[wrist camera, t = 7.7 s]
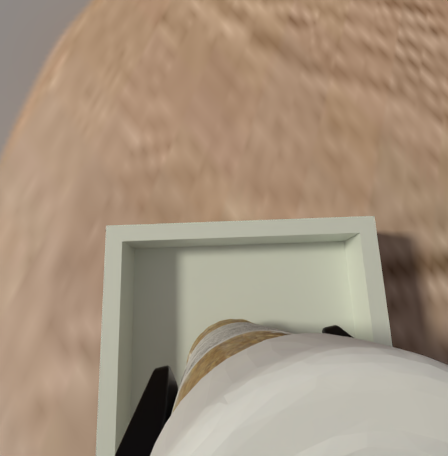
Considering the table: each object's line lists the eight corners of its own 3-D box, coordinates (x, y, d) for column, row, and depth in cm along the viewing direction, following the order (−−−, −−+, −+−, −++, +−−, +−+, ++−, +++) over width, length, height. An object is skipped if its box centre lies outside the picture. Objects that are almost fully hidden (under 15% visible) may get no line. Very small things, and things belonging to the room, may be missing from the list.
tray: (383, 490, 16) (418, 532, 13) (116, 499, 16) (91, 543, 13) (351, 229, 19) (374, 216, 16) (125, 237, 19) (106, 225, 16)
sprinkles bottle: (282, 423, 15) (848, 1234, 2) (181, 420, 15) (1, 1323, 2) (282, 318, 16) (635, 356, 3) (188, 314, 16) (118, 335, 3)
